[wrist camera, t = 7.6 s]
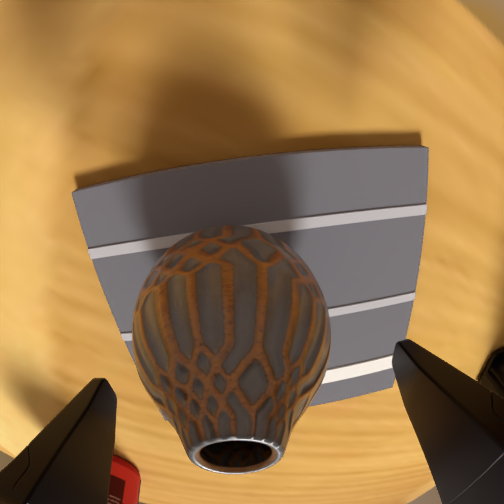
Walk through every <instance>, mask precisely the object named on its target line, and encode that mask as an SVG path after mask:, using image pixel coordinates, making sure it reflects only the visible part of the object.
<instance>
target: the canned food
mask: <svg viewBox="0 0 504 504" xmlns="http://www.w3.org/2000/svg"><path fill="white" fill-rule="evenodd" d="M140 485H141V479H140V474H139V471H138V470H137V469H136V468H135V467H134V466H133V465H132V464H130V463H129V462H127V461H125V460H124V459H122V458H120V457H118V456H115V455H113V458H112V466H111V473H110V482H109V491H108V501H107V504H138V502H139V493H140Z"/></svg>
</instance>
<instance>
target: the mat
mask: <svg viewBox="0 0 504 504" xmlns="http://www.w3.org/2000/svg"><path fill="white" fill-rule="evenodd" d="M428 153H429V148H428V147H425V146H372V147H350V148H334V149H320V150H307V151H296V152H286V153H276V154H267V155H258V156H250V157H242V158H235V159H228V160H221V161H214V162H207V163H201V164H195V165H189V166H183V167H177V168H171V169H166V170H161V171H155V172H150V173H145V174H140V175H135V176H131V177H126V178H121V179H117V180H112V181H108V182H103V183H99V184H95V185H91V186H87V187H83V188H79V189H76V190H75V191H73V192H72V196H73V199H74V203H75V207H76V210H77V214H78V217H79V221H80V224H81V227H82V231H83V234H84V237H85V240H86V243H87V246H88V252H89V255H90V258H91V259H92V261H93V264H94V267H95V270H96V272H97V275H98V278H99V281H100V283H101V286H102V289H103V291H104V294H105V296H106V299H107V301H108V304H109V306H110V309H111V311H112V314H113V316H114V318H115V321H116V323H117V325H118V328H119V330H120V332H121V336H122V339H123V341H125V343H126V346H127V348H128V350H129V352H130V354H131V356H132V358H133V361H134V363H135V359H134V353H133V344H132V322H133V314H134V309H135V305H136V301H137V298H138V295H139V292H140V290H141V288H142V286H143V283H144V281H145V279H146V277H147V276H148V274H149V272H150V271H151V269H152V267H153V266H154V264H155V263H156V262H157V260H158V259H159V258H160V257H161V256H162V255H163V254H164V253H165V252H166V251H167V250H168V249H169V248H170V247H172V246H173V245H174V244H175V243H177V242H178V241H180V240H181V239H183V238H185V237H186V236H188V235H190V234H192V233H194V232H197V231H199V230H202V229H206V228H209V227H214V226H222V225H239V226H246V227H251V228H255V229H258V230H261V231H264V232H266V233H268V234H270V235H272V236H274V237H276V238H278V239H279V240H281V241H283V242H284V243H285V244H287V245H288V246H289V247H290V248H292V249H293V250H294V251H295V252H296V253H297V254H298V255H299V256H300V257H301V258H302V259H303V260H304V261H305V263H306V264H307V265H308V267H309V268H310V270H311V272H312V273H313V275H314V276H315V278H316V280H317V282H318V284H319V286H320V288H321V290H322V293H323V295H324V298H325V301H326V304H327V307H328V312H329V317H330V326H331V348H330V357H329V362H328V367H327V371H326V374H325V377H324V379H323V381H322V384H321V386H320V388H319V390H318V391H317V393H316V395H315V397H314V398H313V400H312V401H311V403H310V404H309V406H314V405H319V404H325V403H329V402H334V401H339V400H344V399H348V398H352V397H357V396H361V395H365V394H369V393H373V392H377V391H380V390H384V389H388V388H391V387H393V383H394V380H395V374H394V370H393V367H392V357H393V353H394V348H395V344H396V343H397V342H398V341H401V340H405V338H406V334H407V330H408V325H409V321H410V316H411V311H412V306H413V301H414V300H415V294H416V292H415V290H416V284H417V278H418V272H419V265H420V258H421V251H422V243H423V234H424V225H425V215H426V213H427V204H426V201H427V185H428ZM135 365H136V364H135ZM309 406H308V407H309ZM158 409H159V408H158ZM159 411H160V410H159ZM160 412H161V411H160ZM161 414H162V412H161ZM162 416H163V418H164V419H165V420H167V419H166V417H165V416H164V415H163V414H162Z"/></svg>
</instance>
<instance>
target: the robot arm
mask: <svg viewBox="0 0 504 504" xmlns="http://www.w3.org/2000/svg"><path fill="white" fill-rule="evenodd" d="M392 367H393V370H394V374H395V377H396V380H397V383H398V386H399V390H400V393H401V396H402V400H403V403H404V406H405V408H406V411H407V413H408V416H409V418H410V421H411V423H412V425H413V428H414V430H415V433H416V435H417V437H418V440H419V442H420V445H421V447H422V450H423V452H424V455H425V458H426V460H427V463H428V465H429V468H430V471H431V473H432V476H433V479H434V481H435V484H436V487H437V490H438V492H439V495H440V498H441V501H442V504H504V347H503V348H501V349H499V350H497V351H495V352H494V353H493V354H492V356H491V358H490V360H489V362H488V364H487V366H486V368H485V370H484V372H483V374H482V376H481V378H480V380H479V382H477V381H475V380H474V379H472V378H471V377H469V376H468V375H466V374H464V373H463V372H461V371H460V370H458V369H456V368H455V367H453V366H452V365H450V364H448V363H447V362H445V361H444V360H442V359H440V358H439V357H437V356H436V355H434V354H432V353H431V352H429V351H428V350H426V349H424V348H423V347H421V346H420V345H418V344H416V343H415V342H413V341H412V340H410V339H405V340H401V341H398V342H397V343H396V344H395V348H394V353H393V357H392ZM116 408H117V397H116V394H115V392H114V391H113V389H112V387H111V386H110V384H109V382H108V381H107V380H106V379H105V378H94V379H92V380H91V381H90V382H89V383H88V384H87V385H86V386H85V387H84V388H83V389H82V390H81V391H80V392H79V393H78V394H77V395H76V396H75V397H74V398H73V399H72V400H71V401H70V402H69V403H68V404H67V405H66V406H65V407H64V408H63V409H62V410H61V411H60V412H59V414H58V415H57V416H56V417H55V418H54V419H53V420H52V421H51V422H50V423H49V424H48V425H47V426H46V427H45V428H44V429H43V430H42V431H41V432H40V433H39V434H38V435H37V436H36V437H35V438H34V439H33V440H32V441H31V442H30V443H29V445H28V446H26V447H25V448H24V450H23V451H22V452H21V453H20V454H19V455H18V456H17V457H16V458H15V459H14V460H13V461H12V462H11V463H9V464H8V466H6V467H5V468H4V469H3V470H1V472H0V504H107V501H108V491H109V482H110V473H111V466H112V458H113V451H114V443H115V427H116Z"/></svg>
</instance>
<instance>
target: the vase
mask: <svg viewBox="0 0 504 504" xmlns="http://www.w3.org/2000/svg"><path fill="white" fill-rule="evenodd" d="M132 344H133V353H134V359H135V364H136V368H137V371H138V374H139V377H140V379H141V381H142V383H143V385H144V387H145V389H146V391H147V393H148V394H149V396H150V397H151V399H152V400H153V402H154V403H155V404H156V406H157V407H158V408H159V410H160V411H161V412H162V414H163V415H164V416H165V417H166V419H167V420H168V421H169V422H170V423H171V425H172V426H173V427H174V429H175V430H176V432H177V433H178V435H179V437H180V439H181V442H182V444H183V446H184V449H185V451H186V453H187V455H188V457H189V459H190V460H191V461H192V462H193V463H194V464H195V465H197V466H199V467H201V468H203V469H205V470H208V471H212V472H216V473H222V474H246V473H252V472H257V471H261V470H264V469H266V468H269V467H271V466H273V465H274V464H276V463H277V462H278V461H280V460H281V458H282V457H283V455H284V453H285V450H286V447H287V444H288V441H289V438H290V435H291V432H292V430H293V428H294V426H295V425H296V423H297V422H298V420H299V419H300V418H301V416H302V415H303V413H304V412H305V410H306V409H307V407H308V406H309V404H310V403H311V401H312V400H313V398H314V397H315V395H316V393H317V391H318V390H319V388H320V386H321V384H322V381H323V379H324V377H325V374H326V371H327V367H328V362H329V357H330V348H331V326H330V317H329V312H328V307H327V304H326V301H325V298H324V295H323V293H322V290H321V288H320V286H319V284H318V282H317V280H316V278H315V276H314V275H313V273H312V272H311V270H310V268H309V267H308V265H307V264H306V263H305V261H304V260H303V259H302V258H301V257H300V256H299V255H298V254H297V253H296V252H295V251H294V250H293V249H292V248H290V247H289V246H288V245H287V244H285V243H284V242H283V241H281V240H279V239H278V238H276V237H274V236H272V235H270V234H268V233H266V232H264V231H261V230H258V229H255V228H251V227H246V226H239V225H222V226H214V227H209V228H206V229H202V230H199V231H197V232H194V233H192V234H190V235H188V236H186V237H185V238H183V239H181V240H180V241H178V242H177V243H175V244H174V245H173V246H172V247H170V248H169V249H168V250H167V251H166V252H165V253H164V254H163V255H162V256H161V257H160V258H159V259H158V260H157V262H156V263H155V264H154V266H153V267H152V269H151V271H150V272H149V274H148V276H147V277H146V279H145V281H144V283H143V286H142V288H141V290H140V292H139V295H138V298H137V301H136V305H135V309H134V314H133V322H132Z"/></svg>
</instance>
